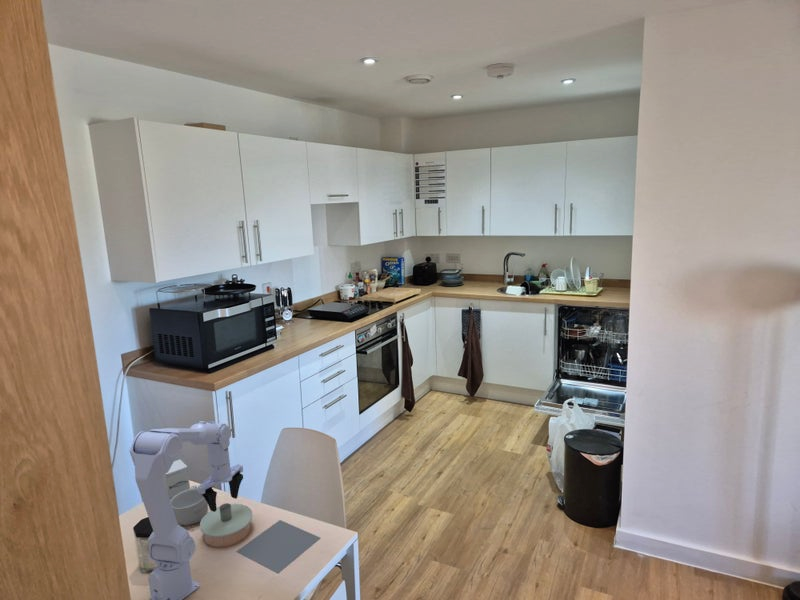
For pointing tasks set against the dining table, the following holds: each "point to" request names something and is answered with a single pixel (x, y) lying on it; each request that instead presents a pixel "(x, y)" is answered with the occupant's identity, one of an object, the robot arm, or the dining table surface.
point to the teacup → (189, 506)
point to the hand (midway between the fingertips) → (224, 503)
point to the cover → (226, 520)
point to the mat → (278, 546)
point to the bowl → (227, 538)
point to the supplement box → (176, 479)
